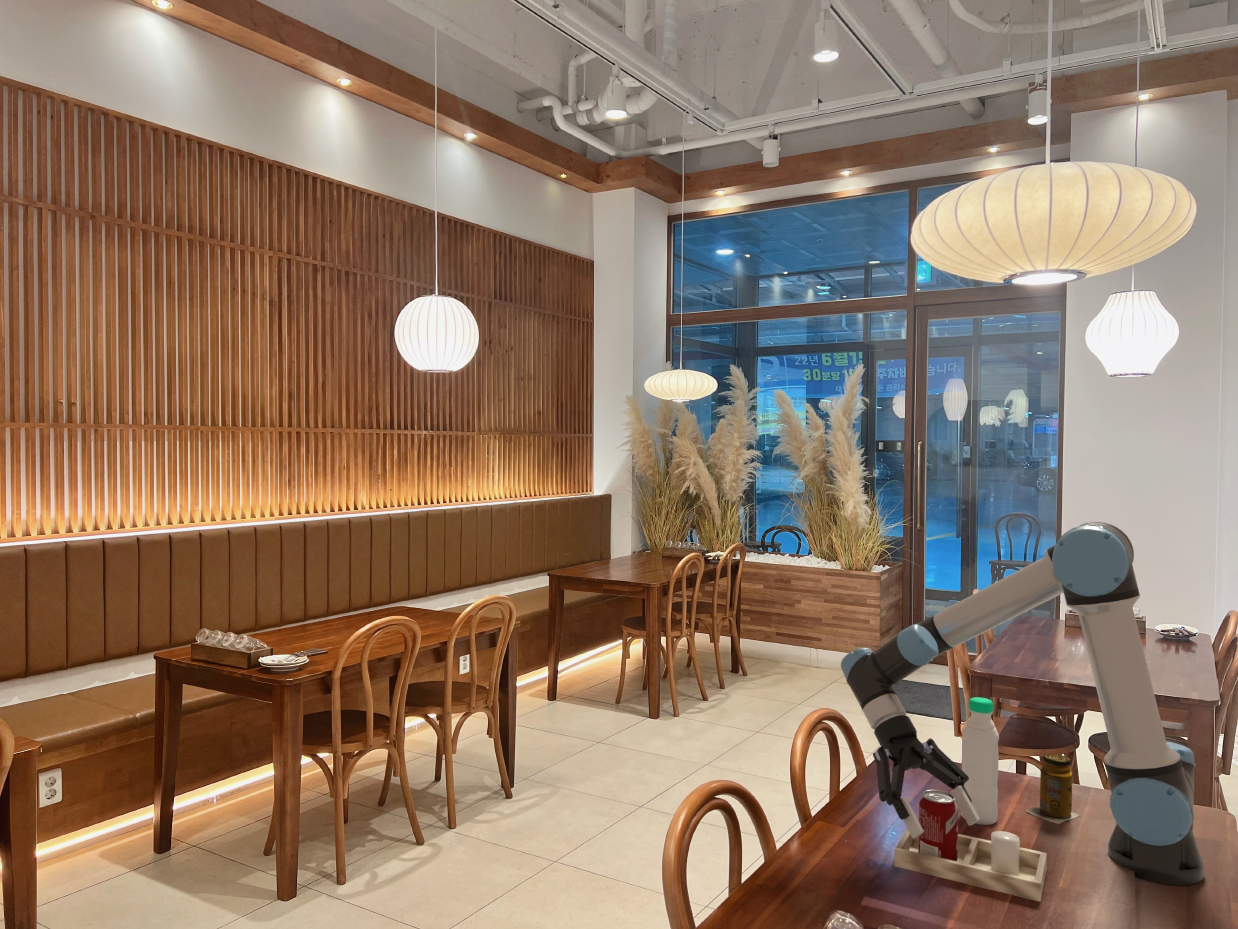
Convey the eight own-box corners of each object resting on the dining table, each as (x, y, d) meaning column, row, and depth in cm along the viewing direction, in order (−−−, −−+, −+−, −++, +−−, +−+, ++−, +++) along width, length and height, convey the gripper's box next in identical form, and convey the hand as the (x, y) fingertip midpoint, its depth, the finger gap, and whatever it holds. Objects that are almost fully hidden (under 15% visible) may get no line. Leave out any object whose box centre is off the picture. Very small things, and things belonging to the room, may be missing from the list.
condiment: (1080, 815, 183) (1081, 759, 183) (1058, 825, 179) (1059, 767, 178) (1047, 803, 189) (1048, 749, 189) (1024, 812, 185) (1025, 756, 184)
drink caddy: (1046, 875, 157) (1046, 853, 157) (1040, 907, 146) (1040, 883, 146) (909, 843, 169) (909, 823, 169) (894, 871, 158) (894, 849, 158)
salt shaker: (1020, 873, 155) (1020, 835, 155) (1017, 884, 151) (1018, 844, 151) (992, 867, 158) (993, 829, 158) (989, 878, 154) (989, 838, 154)
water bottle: (1004, 821, 180) (1006, 701, 180) (984, 829, 176) (986, 706, 176) (973, 809, 186) (975, 693, 185) (953, 816, 182) (955, 698, 182)
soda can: (937, 872, 156) (938, 805, 156) (910, 855, 162) (911, 791, 162) (965, 865, 159) (966, 799, 158) (938, 849, 165) (939, 786, 164)
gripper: (928, 724, 179) (985, 825, 166) (830, 740, 169) (883, 849, 155) (948, 706, 174) (1008, 808, 161) (849, 721, 164) (904, 832, 151)
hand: (947, 829), depth 158 cm, fingers open, 13 cm apart
